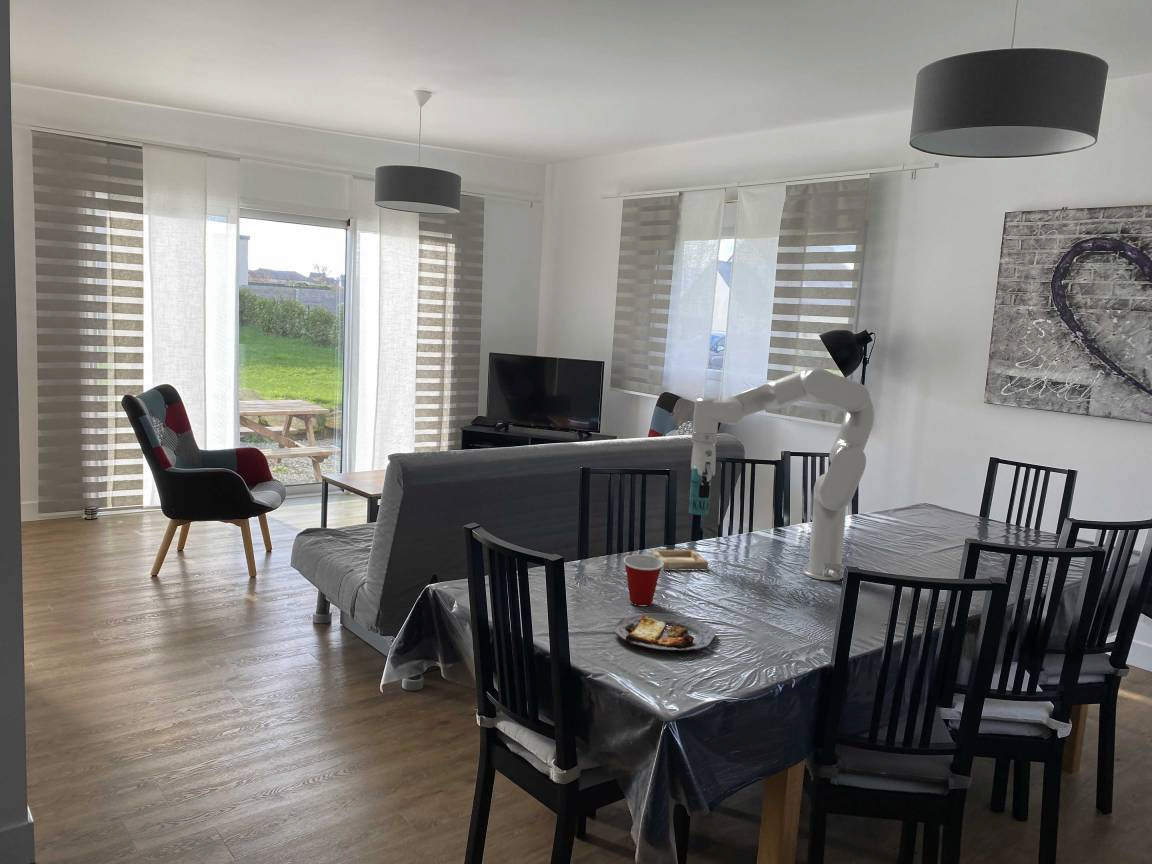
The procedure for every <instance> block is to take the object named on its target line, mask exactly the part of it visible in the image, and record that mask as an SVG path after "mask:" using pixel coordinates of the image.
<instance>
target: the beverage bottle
mask: <svg viewBox="0 0 1152 864" xmlns="http://www.w3.org/2000/svg"><path fill="white" fill-rule="evenodd" d="M703 475H707V474H706V473H703ZM704 478H706V477H703V480H704ZM699 485H701V481H700V475H698V470H697V467H696V466H693V467H692V469H691V478H690V486H689V489H690V490H689V498H688V504H687V505H688V507H687V509H688V513H689V514H692V515H698V516H701V515H702V516H704V515H705V516H706V515H708V514H709V512H710V511H709V510H710V501H711V490H710V491H709V498H699ZM711 485H712V480H711V481H710V489H711Z"/></svg>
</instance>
